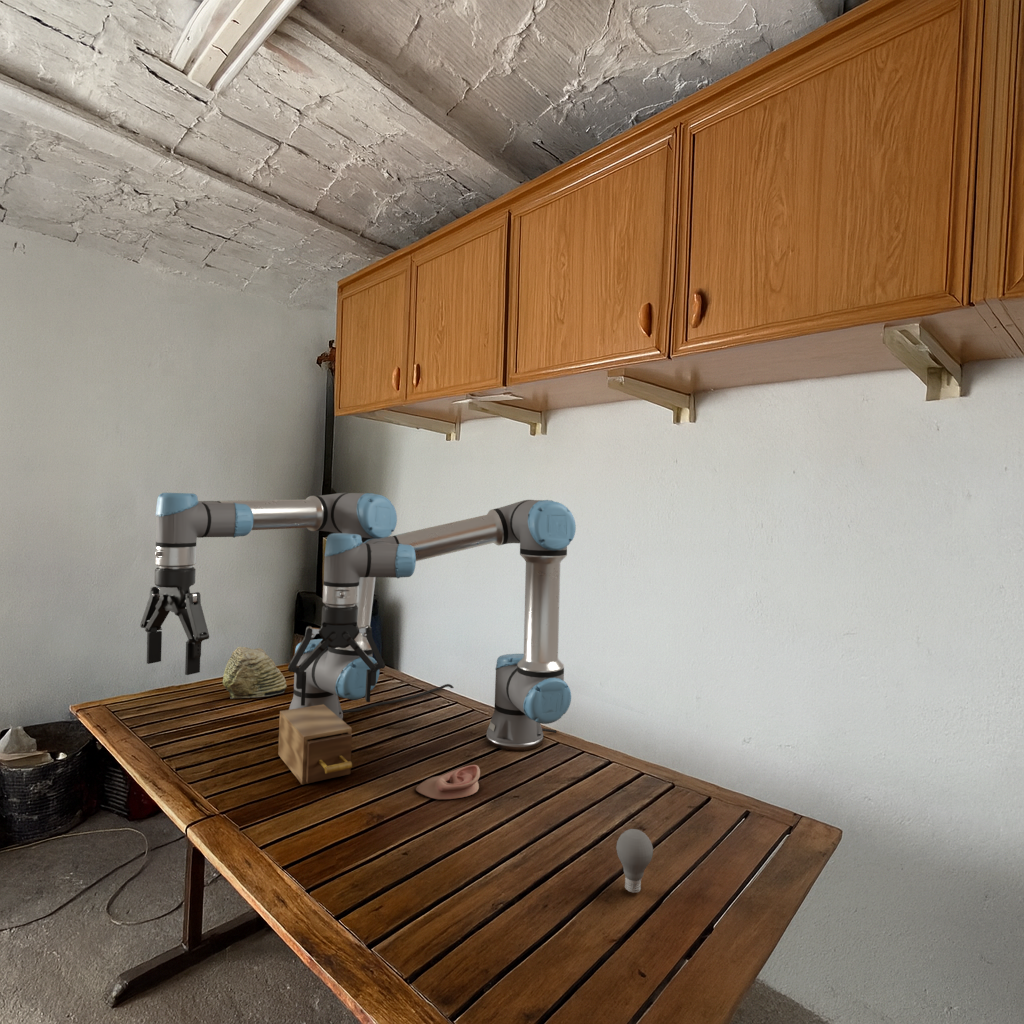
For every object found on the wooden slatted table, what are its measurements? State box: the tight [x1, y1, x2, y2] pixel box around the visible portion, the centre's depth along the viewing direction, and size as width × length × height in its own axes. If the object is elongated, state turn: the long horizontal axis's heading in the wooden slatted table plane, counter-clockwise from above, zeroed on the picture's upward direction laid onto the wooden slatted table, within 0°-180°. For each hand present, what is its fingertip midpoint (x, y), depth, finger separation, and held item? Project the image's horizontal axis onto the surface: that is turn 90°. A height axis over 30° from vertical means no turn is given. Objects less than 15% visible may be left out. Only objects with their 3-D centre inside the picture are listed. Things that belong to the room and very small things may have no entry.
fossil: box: [222, 646, 288, 699], centre depth 198 cm, size 9×18×15 cm, turn 132°
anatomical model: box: [415, 764, 481, 800], centre depth 140 cm, size 13×4×12 cm
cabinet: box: [277, 704, 353, 786], centre depth 149 cm, size 19×11×11 cm, turn 36°
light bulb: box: [615, 828, 654, 894], centre depth 106 cm, size 6×6×10 cm
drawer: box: [306, 733, 353, 784], centre depth 145 cm, size 23×10×9 cm, turn 36°
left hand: (172, 667), depth 132 cm, fingers open, 13 cm apart
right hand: (335, 702), depth 138 cm, fingers open, 13 cm apart
